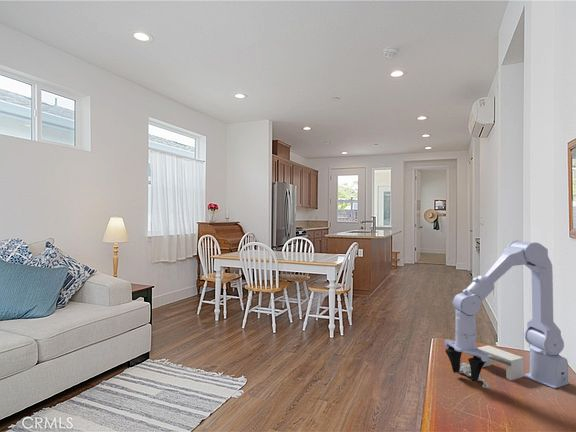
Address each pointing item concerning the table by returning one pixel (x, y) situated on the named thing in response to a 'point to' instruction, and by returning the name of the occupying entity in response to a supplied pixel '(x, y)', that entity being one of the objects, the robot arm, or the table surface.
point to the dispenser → (505, 361)
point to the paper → (467, 370)
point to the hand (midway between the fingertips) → (465, 376)
